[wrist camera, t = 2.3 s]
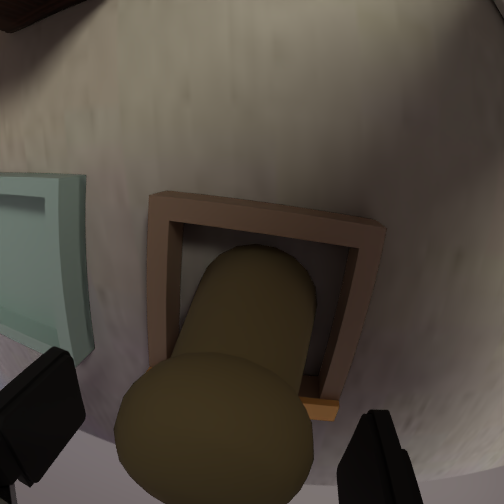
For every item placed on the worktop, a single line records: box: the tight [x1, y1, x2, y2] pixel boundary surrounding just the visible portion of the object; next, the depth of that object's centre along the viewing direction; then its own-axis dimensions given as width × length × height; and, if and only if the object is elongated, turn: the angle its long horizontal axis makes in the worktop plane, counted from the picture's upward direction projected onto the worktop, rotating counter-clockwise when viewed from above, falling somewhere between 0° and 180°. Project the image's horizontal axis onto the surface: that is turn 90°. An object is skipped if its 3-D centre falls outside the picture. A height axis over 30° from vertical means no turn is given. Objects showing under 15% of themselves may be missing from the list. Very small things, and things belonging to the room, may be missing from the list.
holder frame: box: [146, 191, 387, 421], centre depth 15 cm, size 10×10×2 cm
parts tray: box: [0, 173, 95, 367], centre depth 16 cm, size 12×11×2 cm
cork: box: [114, 244, 317, 504], centre depth 11 cm, size 6×6×11 cm
